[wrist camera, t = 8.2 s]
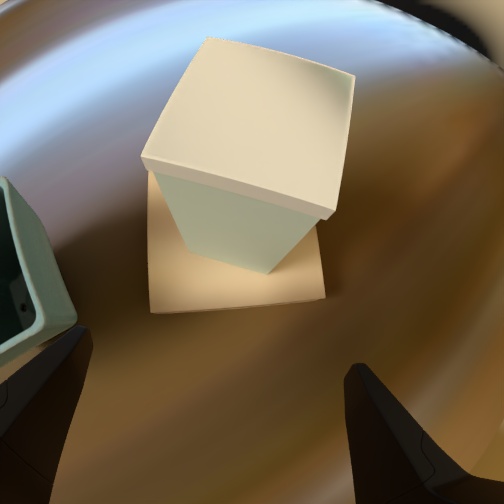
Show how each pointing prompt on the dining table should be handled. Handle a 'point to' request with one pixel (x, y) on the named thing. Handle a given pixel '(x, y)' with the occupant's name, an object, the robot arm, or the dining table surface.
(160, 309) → the tan square coaster
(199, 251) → the tea tin
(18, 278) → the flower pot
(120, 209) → the dining table surface
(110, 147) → the dining table surface
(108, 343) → the dining table surface
